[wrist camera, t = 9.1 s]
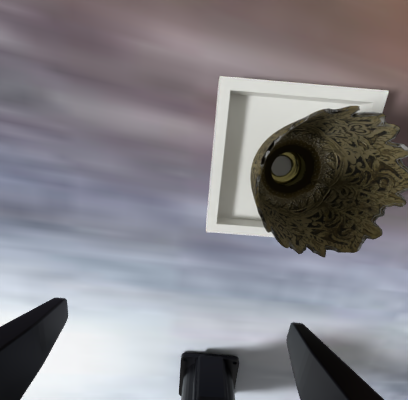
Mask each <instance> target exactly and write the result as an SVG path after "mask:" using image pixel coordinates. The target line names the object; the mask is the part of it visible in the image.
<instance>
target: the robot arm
mask: <svg viewBox="0 0 408 400" xmlns="http://www.w3.org/2000/svg"><path fill="white" fill-rule="evenodd" d="M67 318H68V307H67V300H66V299H65V298H53V299H51V300H49V301H48V302H46V303H44V304H42V305H40V306H38V307H36V308H34V309H33V310H31V311H29V312H27V313H25V314H23V315H21V316H20V317H18V318H16V319H14V320H12V321H10V322H8V323H6V324H5V325H3V326H1V327H0V400H20V399H21V398H22V396H23V394H24V393H25V391H26V390H27V388H28V387H29V385H30V384H31V382H32V381H33V379H34V378H35V376H36V375H37V373H38V372H39V370H40V368H41V367H42V365H43V364H44V362H45V360H46V358H47V357H48V355H49V353H50V351H51V349H52V347H53V345H54V344H55V342H56V340H57V338H58V336H59V334H60V332H61V331H62V329H63V327H64V325H65V323H66V321H67ZM287 347H288V351H289V356H290V360H291V364H292V369H293V373H294V378H295V382H296V386H297V390H298V393H299V396H300V399H301V400H384V399H383V398H382V397H381V396H380V395H379V394H378V393H376V392H375V391H374V390H373V389H372V388H371V387H370V386H369V385H368V384H367V383H366V382H365V381H364V380H363V379H361V378H360V377H359V376H358V375H357V374H356V373H355V372H354V371H353V370H352V369H351V368H350V367H349V366H348V365H346V364H345V363H344V362H343V361H342V360H341V359H340V358H339V357H338V356H337V355H336V354H335V353H334V352H333V351H331V350H330V349H329V348H328V347H327V346H326V345H325V344H324V343H323V342H322V341H321V340H320V339H319V338H318V337H316V336H315V335H314V334H313V333H312V332H311V331H310V330H309V329H308V328H307V327H306V326H305V325H303V324H302V323H294V322H293V323H291V325H290V328H289V332H288V335H287ZM238 366H239V360H238V357H236V356H224V355H209V354H195V353H183V354H182V356H181V368H180V384H179V395H180V396H182V397H181V400H235V395H234V389H235V383H236V378H237V372H238Z"/></svg>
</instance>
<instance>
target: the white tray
mask: <svg viewBox="0 0 408 400" xmlns="http://www.w3.org/2000/svg"><path fill="white" fill-rule="evenodd" d="M388 92H389V91H386V90H375V89H363V88H352V87H340V86H329V85H317V84H305V83H294V82H282V81H271V80H259V79H247V78H236V77H224V76H220V78H219V83H218V94H217V105H216V116H215V128H214V139H213V150H212V161H211V173H210V184H209V195H208V207H207V218H206V232H214V233H227V234H240V235H253V236H265V237H274V235H273V234H272V232H269V233H268V232H267V231H266V229H265V228H264V225H263V222H262V219H261V217H260V215H259V214H258V210H257V206H256V203H255V200H254V196H253V193H252V189H251V181H250V174H251V167H252V163H253V160H254V157H255V155H256V153H257V151H258V150H259V148H260V147H261V145H262V144H263V143H264V142H265V141H266V140H267V139H268V138H269V137H270V136H271V135H272V134H274V133H275V132H276V131H278V130H280V129H281V128H283V127H285V126H287V125H289V124H291V123H293V122H295V121H297V120H300V119H302V118H304V117H306V116H308V115H310V114H312V113H314V112H316V111H319V110H322V109H328V108H330V109H340V108H344V107H347V106H360V110H359V111H357V112H356V113H359V112H377V113H383V109H384V106H385V102H386V99H387V96H388ZM271 169H272V172H273V173H274V174H275V175H277V176H284V175H286V174H287V173H288V172H289V171H290V169H291V161H290V159H289V158H287V157H285V156H280V157H277V158H276V159H275V161H274V162H273V164H272V168H271Z"/></svg>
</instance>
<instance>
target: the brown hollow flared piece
mask: <svg viewBox="0 0 408 400" xmlns="http://www.w3.org/2000/svg"><path fill="white" fill-rule="evenodd" d="M359 110H360V106H347V107H344V108H340V109H330V108H328V109H322V110H319V111H316V112H314V113H312V114H310V115H308V116H306V117H304V118H302V119H300V120H297V121H295V122H293V123H291V124H289V125H287V126H285V127H283V128H281V129H280V130H278V131H276V132H275V133H274V134H272V135H271V136H270V137H269V138H268V139H267V140H266V141H265V142H264V143H263V144H262V145H261V147H260V148H259V150H258V151H257V153H256V155H255V157H254V160H253V163H252V167H251V174H250V181H251V189H252V193H253V196H254V200H255V203H256V206H257V210H258V214H259V215H260V217H261V219H262V222H263V225H264V228H265V229H266V231H267V232H268V233H269V232H272V234H273V235H274V237H275V238H276V240H277V241H278V242H279V243H280V244H281V245H282V246H283V247H285V248H288V247H290V248H291V249H293V250H295V251H296V252H297V253H298V254H301V253H303V251H305V250H306V247H307V248H309V249H310V250H311V251H312V252H313V253H316V254H318V255H320V256H322V257H325V255H326V250H334V251H336V252H350V253H355V252H357V251H359V249H360V248H361V246H362V244H363V243H364V241H365V240H366V239H367V238H369V239H376V238H378V237H380V236H381V235H382V229H381V228H380V227H379V226H378V225H377V224H376V222H374V221H376V220H377V218H378V217H381V216H383V215H384V213H385V210H384V209H385V208H386V207H391V206H398V207H403V206H404V205H405V204H406V200H405V198H404V197H403V196H402V195H400V193H402V192H405V191H407V190H408V167H407V166H405V165H404V164H403V162H402V160H401V159H402V158H405V157H408V147H407V146H405V145H404V144H398V143H394V142H390V141H391V140H392V139H394V138H395V137H396V135H397V134H398V133H399V131H400V128H399V127H398V126H397V125H394V124H387V122H386V121H385V117H386V116H385V115H384V114H382V113H377V112H359V113H356V112H357V111H359ZM384 121H385V122H384ZM280 156H285V157H287V158H289V159H290V161H291V169H290V171H289V172H288V173H287V174H286V175H284V176H277V175H275V174H274V173H273V172H272V169H271V168H272V164H273V162H274V161H275V159H276V158H277V157H280Z"/></svg>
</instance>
